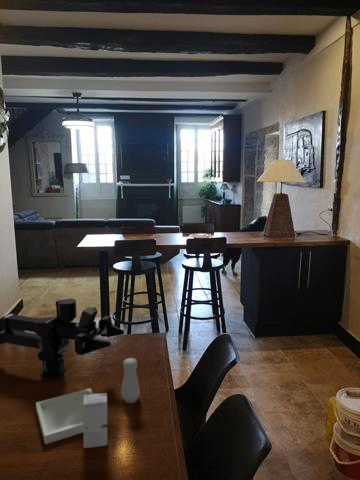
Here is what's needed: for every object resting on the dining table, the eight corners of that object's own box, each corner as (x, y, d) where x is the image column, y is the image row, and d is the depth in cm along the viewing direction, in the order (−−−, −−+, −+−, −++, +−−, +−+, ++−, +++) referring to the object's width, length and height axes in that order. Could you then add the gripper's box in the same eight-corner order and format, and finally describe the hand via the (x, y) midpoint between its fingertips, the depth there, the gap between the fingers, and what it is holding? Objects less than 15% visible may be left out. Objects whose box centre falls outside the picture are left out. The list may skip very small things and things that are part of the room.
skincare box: (83, 449, 92) (81, 405, 90) (83, 437, 96) (82, 394, 94) (108, 445, 93) (107, 401, 91) (107, 433, 97) (106, 391, 95)
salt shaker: (136, 406, 109) (136, 365, 107) (118, 403, 110) (117, 363, 108) (142, 395, 115) (142, 356, 113) (125, 393, 116) (124, 354, 114)
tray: (36, 410, 107) (35, 402, 107) (90, 395, 115) (90, 388, 114) (45, 444, 93) (44, 436, 93) (106, 424, 101) (105, 417, 100)
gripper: (57, 318, 112) (102, 325, 107) (90, 299, 130) (130, 304, 125) (58, 352, 114) (103, 360, 109) (91, 329, 131) (130, 335, 127)
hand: (117, 338), depth 117 cm, fingers open, 9 cm apart
